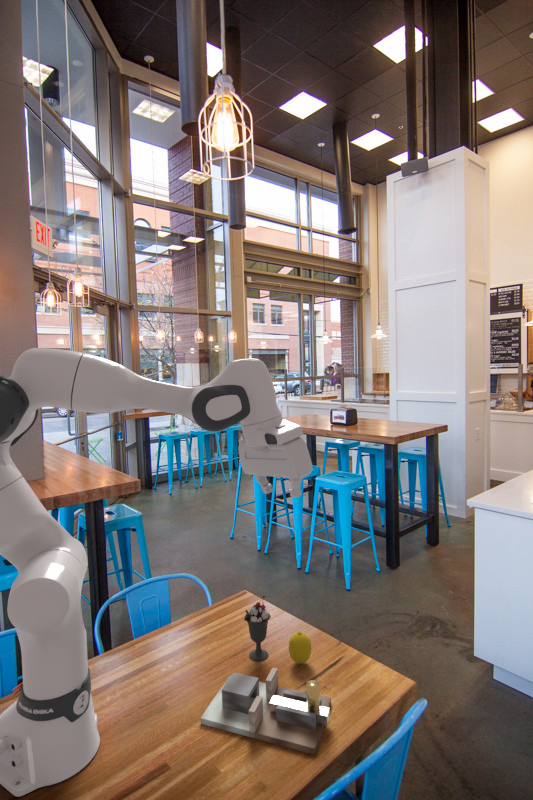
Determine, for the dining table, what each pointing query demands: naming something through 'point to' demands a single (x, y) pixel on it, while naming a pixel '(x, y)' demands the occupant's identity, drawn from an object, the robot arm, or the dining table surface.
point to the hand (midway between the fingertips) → (281, 494)
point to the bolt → (310, 706)
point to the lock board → (264, 713)
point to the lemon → (299, 647)
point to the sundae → (258, 629)
